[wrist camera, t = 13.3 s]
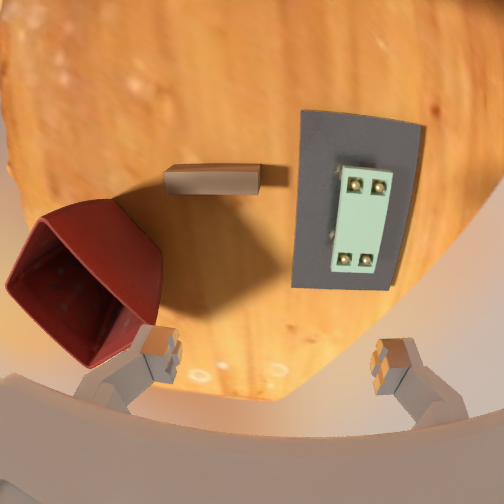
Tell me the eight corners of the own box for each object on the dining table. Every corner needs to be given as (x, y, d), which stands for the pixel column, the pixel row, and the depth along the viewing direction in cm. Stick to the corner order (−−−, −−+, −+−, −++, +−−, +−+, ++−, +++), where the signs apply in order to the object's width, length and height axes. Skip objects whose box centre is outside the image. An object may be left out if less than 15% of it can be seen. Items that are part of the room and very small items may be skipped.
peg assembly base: (300, 109, 35) (303, 112, 29) (417, 124, 33) (436, 130, 28) (291, 281, 48) (291, 306, 42) (386, 285, 46) (396, 309, 41)
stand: (173, 164, 40) (163, 172, 37) (260, 164, 39) (258, 171, 35) (175, 184, 41) (165, 194, 38) (260, 185, 40) (258, 195, 37)
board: (371, 268, 40) (373, 273, 39) (330, 266, 40) (331, 271, 39) (389, 170, 33) (393, 172, 32) (342, 165, 33) (344, 167, 32)
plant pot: (192, 258, 47) (156, 333, 33) (126, 306, 55) (88, 371, 40) (111, 168, 41) (40, 213, 26) (59, 235, 48) (3, 287, 34)
